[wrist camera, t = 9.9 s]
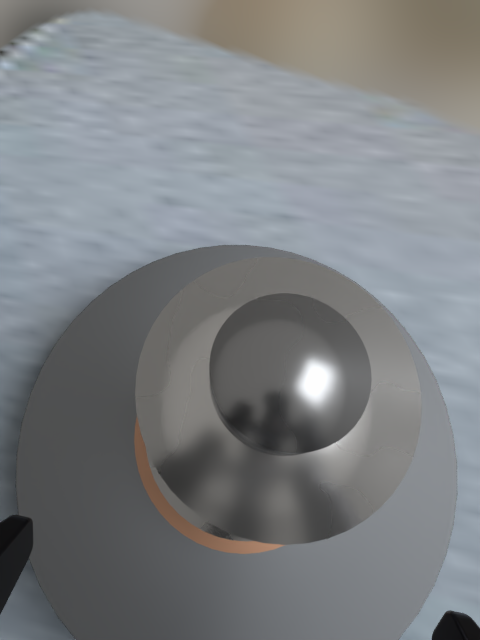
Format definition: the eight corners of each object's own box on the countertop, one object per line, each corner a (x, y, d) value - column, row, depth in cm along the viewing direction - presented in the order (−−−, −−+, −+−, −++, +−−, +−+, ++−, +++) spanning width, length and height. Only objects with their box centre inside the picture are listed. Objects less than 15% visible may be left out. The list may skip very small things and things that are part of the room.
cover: (222, 583, 14) (248, 809, 4) (116, 409, 16) (-21, 315, 6) (371, 451, 16) (597, 416, 7) (260, 313, 18) (313, 139, 9)
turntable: (184, 844, 12) (182, 882, 11) (-41, 386, 17) (-59, 379, 16) (522, 476, 17) (544, 476, 16) (274, 204, 22) (277, 190, 21)
